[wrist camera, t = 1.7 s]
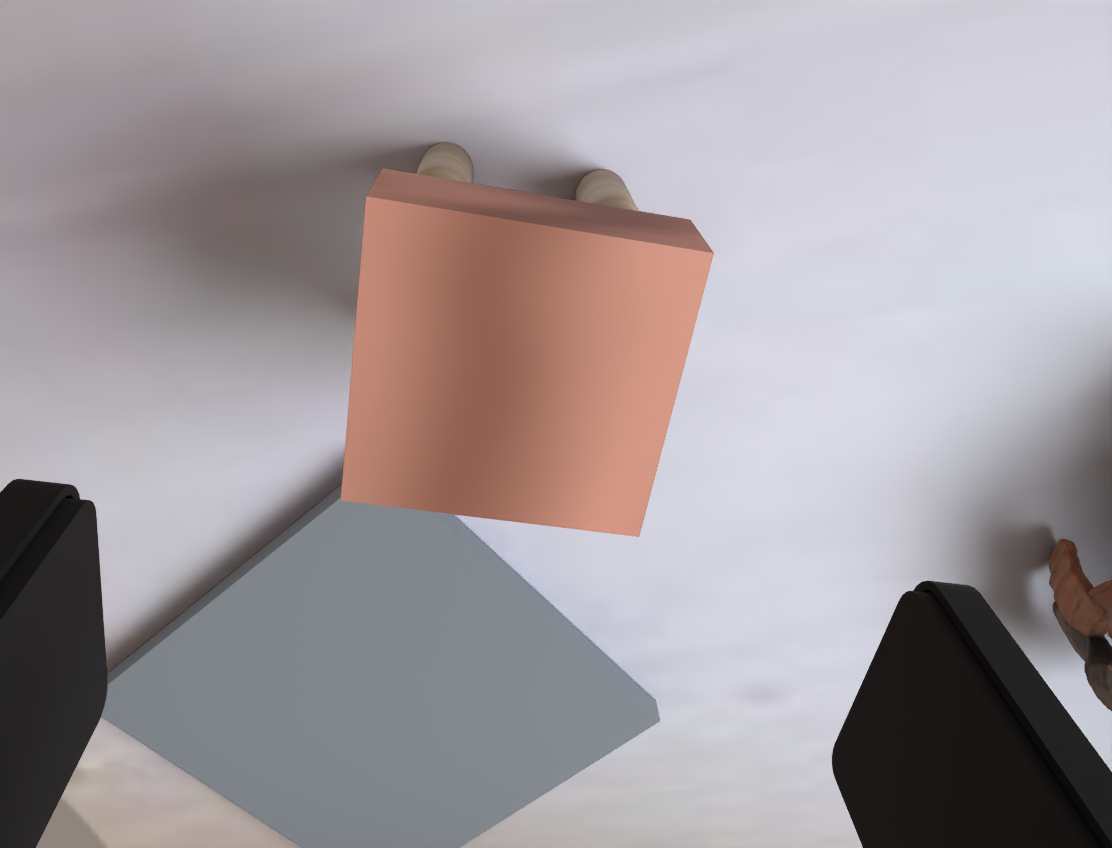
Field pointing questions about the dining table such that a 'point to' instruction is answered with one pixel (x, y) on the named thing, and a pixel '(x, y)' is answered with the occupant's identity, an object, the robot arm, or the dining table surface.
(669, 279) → the stool
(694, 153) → the dining table surface
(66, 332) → the dining table surface
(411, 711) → the slate mat
